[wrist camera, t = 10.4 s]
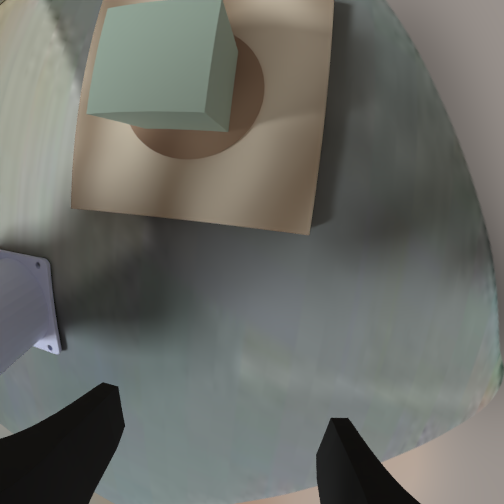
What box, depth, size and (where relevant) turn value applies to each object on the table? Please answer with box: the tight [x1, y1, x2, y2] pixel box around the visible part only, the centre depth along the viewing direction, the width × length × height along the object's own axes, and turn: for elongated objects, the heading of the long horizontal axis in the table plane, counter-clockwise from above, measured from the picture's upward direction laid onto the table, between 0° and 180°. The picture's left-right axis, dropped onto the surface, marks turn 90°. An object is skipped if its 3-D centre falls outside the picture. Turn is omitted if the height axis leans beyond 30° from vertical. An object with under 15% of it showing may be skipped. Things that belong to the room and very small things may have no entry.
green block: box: [86, 0, 238, 132], centre depth 12 cm, size 4×4×6 cm
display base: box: [71, 0, 334, 235], centre depth 16 cm, size 14×14×2 cm
